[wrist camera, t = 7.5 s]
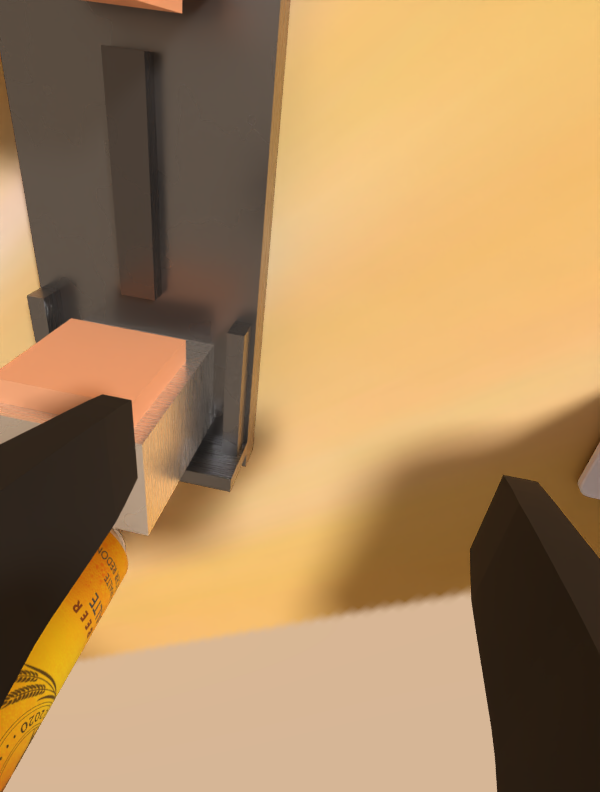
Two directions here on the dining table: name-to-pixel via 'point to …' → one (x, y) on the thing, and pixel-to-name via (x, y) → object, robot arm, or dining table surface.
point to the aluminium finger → (125, 378)
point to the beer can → (58, 651)
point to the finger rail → (154, 178)
